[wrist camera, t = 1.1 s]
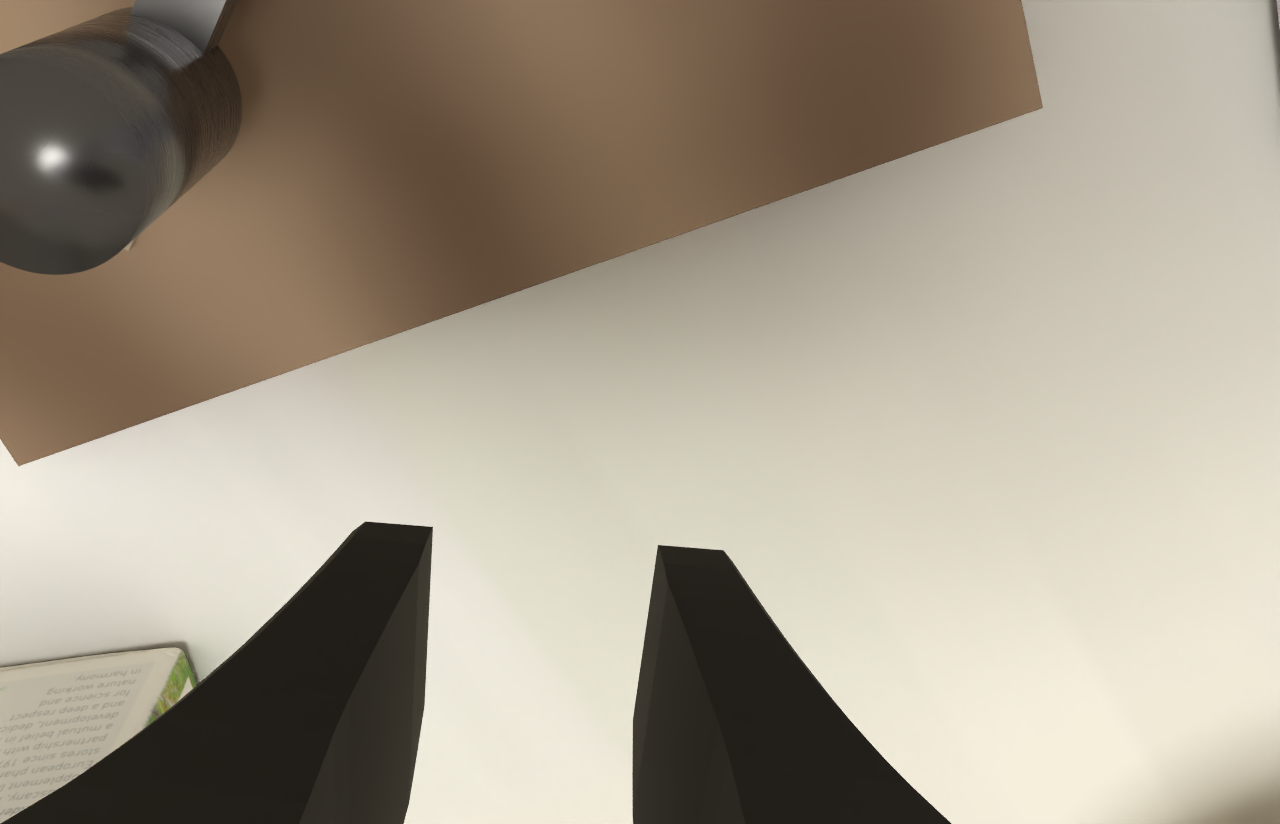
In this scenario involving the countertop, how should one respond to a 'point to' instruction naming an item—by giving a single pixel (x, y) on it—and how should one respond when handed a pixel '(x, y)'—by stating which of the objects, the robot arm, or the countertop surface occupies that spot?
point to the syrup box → (78, 715)
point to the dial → (110, 129)
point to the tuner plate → (471, 171)
